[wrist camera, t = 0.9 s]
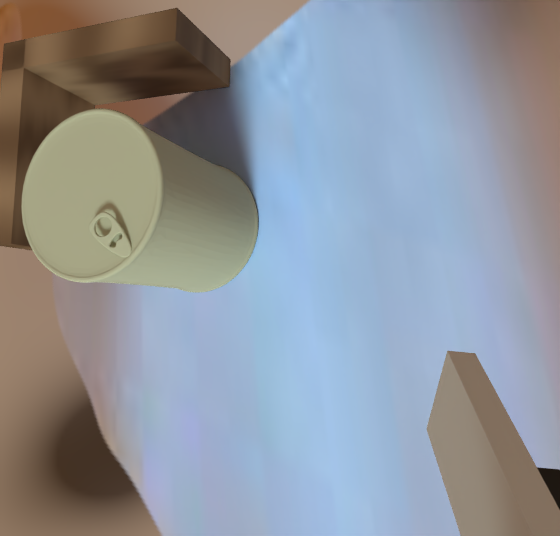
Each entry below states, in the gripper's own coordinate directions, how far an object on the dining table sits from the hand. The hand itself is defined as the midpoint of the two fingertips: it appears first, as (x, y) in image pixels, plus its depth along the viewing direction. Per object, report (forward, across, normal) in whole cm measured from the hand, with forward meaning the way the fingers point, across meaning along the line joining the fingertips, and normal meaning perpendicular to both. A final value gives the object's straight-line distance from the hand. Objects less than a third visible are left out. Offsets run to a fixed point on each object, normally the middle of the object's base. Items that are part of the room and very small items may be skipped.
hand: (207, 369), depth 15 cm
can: (+24, -4, -5) cm, 25 cm away
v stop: (+30, -12, 0) cm, 32 cm away
